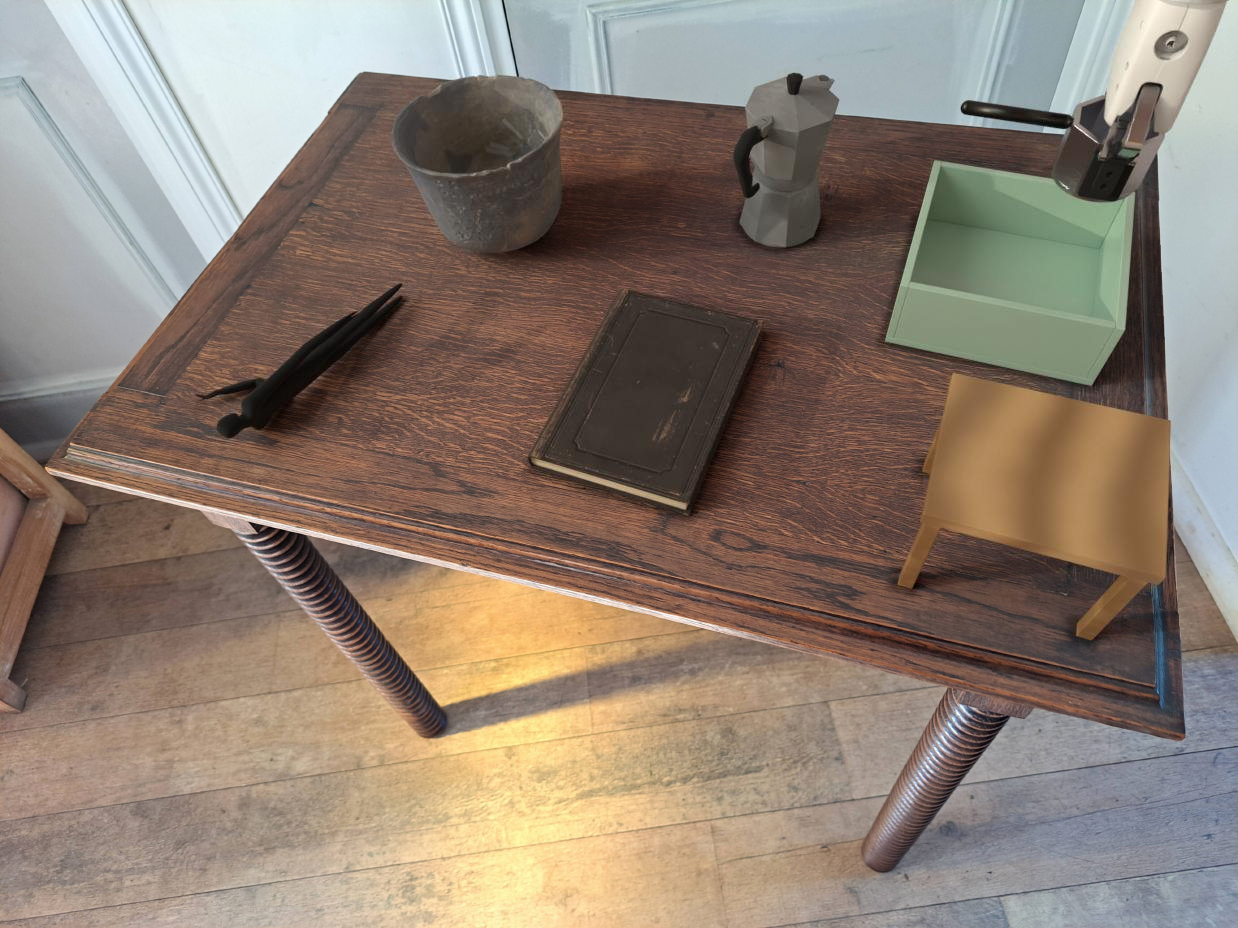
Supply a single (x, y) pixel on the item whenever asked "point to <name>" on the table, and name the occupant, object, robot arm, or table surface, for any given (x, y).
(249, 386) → the dark humanoid figurine
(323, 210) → the table surface
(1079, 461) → the stand
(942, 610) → the table surface
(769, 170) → the coffeepot
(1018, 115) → the saucepan
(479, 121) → the cup
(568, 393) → the hardcover book
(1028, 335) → the basin
